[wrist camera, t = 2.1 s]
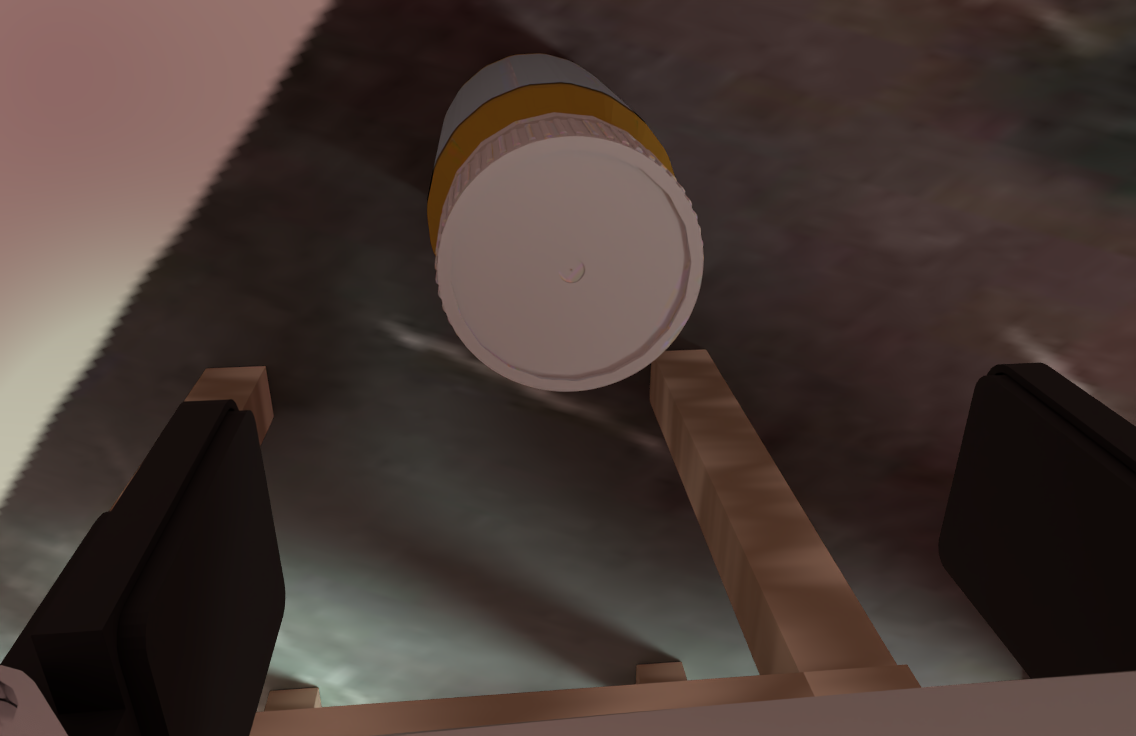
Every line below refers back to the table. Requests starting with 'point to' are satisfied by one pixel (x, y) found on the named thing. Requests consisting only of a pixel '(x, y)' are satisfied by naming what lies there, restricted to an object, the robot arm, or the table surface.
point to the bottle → (559, 228)
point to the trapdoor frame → (739, 549)
